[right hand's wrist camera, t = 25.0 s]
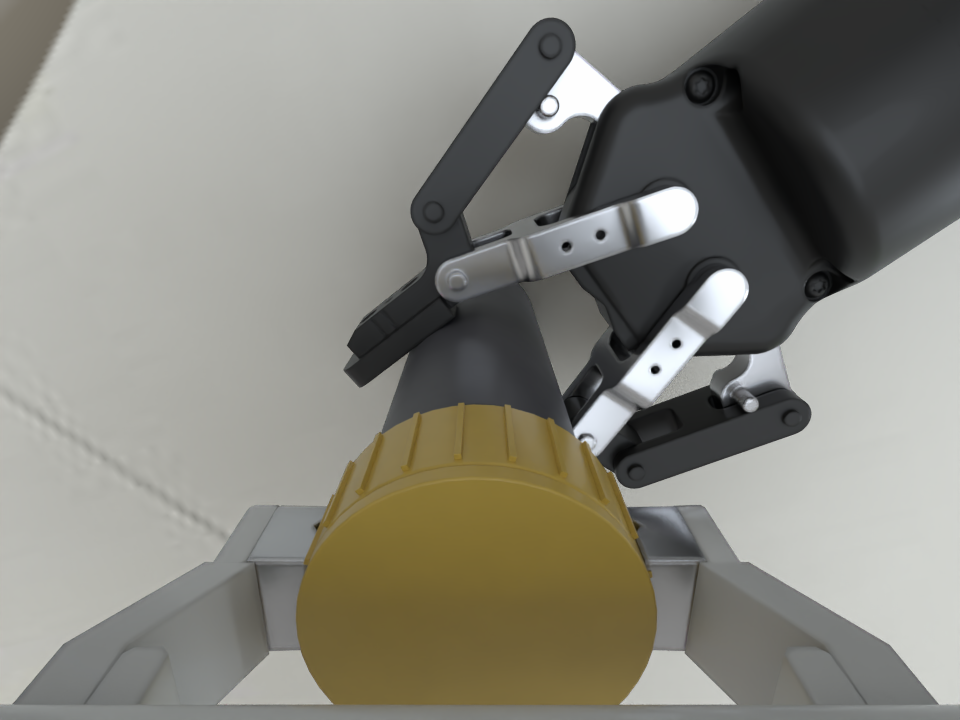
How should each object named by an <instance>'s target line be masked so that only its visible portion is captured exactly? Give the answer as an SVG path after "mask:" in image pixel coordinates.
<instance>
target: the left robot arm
mask: <svg viewBox="0 0 960 720" xmlns="http://www.w3.org/2000/svg"><path fill="white" fill-rule="evenodd" d="M575 47H576V44H575V37H574V34H573V32H572V30H571V28H570V27H569V26H568V25H567V24H566V23H565V22H564V21H562V20H560V19H557V18H546V19H543V20H540V21H539V22H537V23H536V24H535V25H534V26H533V27H532V28H531V29H530V31H529V32H528V34H527V35H526V36H525V38H524V39H523V41H522V42H521V44H520V45H519V47H518V48H517V50H516V51H515V52H514V54H513V55H512V57H511V58H510V60H509V61H508V63H507V64H506V66H505V67H504V68H503V70H502V71H501V73H500V74H499V76H498V77H497V79H496V80H495V81H494V83H493V84H492V86H491V87H490V89H489V90H488V92H487V93H486V95H485V96H484V97H483V99H482V100H481V102H480V103H479V105H478V106H477V108H476V109H475V111H474V112H473V113H472V115H471V116H470V118H469V119H468V121H467V122H466V124H465V125H464V126H463V128H462V129H461V131H460V132H459V134H458V135H457V137H456V138H455V140H454V141H453V142H452V144H451V145H450V147H449V148H448V150H447V151H446V153H445V154H444V156H443V157H442V158H441V160H440V161H439V163H438V164H437V166H436V167H435V169H434V170H433V172H432V173H431V174H430V176H429V177H428V179H427V180H426V182H425V183H424V185H423V186H422V187H421V189H420V190H419V192H418V193H417V195H416V196H415V198H414V199H413V201H412V204H411V218H412V221H413V223H414V224H415V226H416V227H417V228H418V230H419V232H420V235H421V238H422V241H423V244H424V247H425V249H426V253H427V266H426V268H425V269H424V270H423V271H422V272H420V273H419V274H418V275H417V276H415V277H414V278H413V279H411V280H410V281H409V282H408V283H406V284H405V285H404V286H403V287H401V288H400V289H399V290H398V291H396V292H395V293H394V294H393V295H391V296H390V297H389V298H388V299H386V300H385V301H384V302H382V303H381V304H380V305H379V306H378V307H376V308H375V309H374V310H372V311H371V312H370V313H369V314H367V315H366V316H365V317H364V318H363V319H362V321H361V322H360V324H359V325H358V327H357V328H356V330H355V331H354V333H353V335H352V337H351V339H350V341H349V342H348V344H347V346H348V347H349V348H350V350H351V351H352V352H353V353H354V354H353V355H352V357H351V358H350V360H349V362H348V363H347V365H346V366H345V368H344V371H345V372H346V374H347V375H348V376H349V377H350V378H351V379H352V380H353V381H354V382H355V383H356V384H357V386H358V387H359V388H360V387H363V386H364V385H366V384H367V383H369V382H370V381H371V380H373V379H374V378H375V377H377V376H378V375H379V374H381V373H382V372H383V371H385V370H386V369H387V368H389V367H390V366H391V365H393V364H394V363H395V362H396V361H398V360H399V359H400V358H402V357H403V356H404V355H406V354H407V353H408V352H410V351H411V350H412V349H414V348H415V347H416V346H418V345H419V344H420V343H422V342H423V341H424V340H425V339H426V338H427V337H429V336H430V335H432V334H433V333H435V332H436V331H437V330H439V329H440V328H441V327H443V326H444V325H445V324H447V323H448V322H449V321H451V320H452V319H453V318H455V314H456V308H457V304H458V303H459V302H463V301H467V300H470V299H473V298H476V297H478V296H481V295H484V294H487V293H490V292H493V291H496V290H499V289H502V288H505V287H508V286H511V285H514V284H517V283H520V282H533V281H538V280H542V279H545V278H548V277H551V276H554V275H556V274H559V273H562V272H565V271H568V270H569V271H570V272H571V273H572V275H573V276H574V277H575V279H576V280H577V281H578V283H579V284H580V286H581V287H582V288H583V289H584V290H585V291H587V292H588V293H589V294H591V295H592V296H593V297H594V298H595V300H596V303H597V305H598V308H599V311H600V313H601V315H602V316H603V317H604V319H605V320H606V321H607V323H608V324H609V327H608V329H607V330H606V331H605V333H604V334H603V335H602V336H601V338H600V339H599V340H598V342H597V343H596V344H595V346H594V348H593V350H592V352H591V357H590V359H589V361H588V363H587V364H586V366H585V367H584V368H583V370H582V371H581V372H580V374H579V375H578V376H577V377H576V379H575V380H574V381H573V383H572V384H571V385H570V386H569V388H568V389H567V390H566V392H565V393H564V394H563V395H562V398H563V401H564V404H565V407H566V410H567V413H568V416H569V419H570V422H571V425H572V428H573V431H574V434H575V437H576V438H577V439H578V440H580V441H581V442H582V443H583V442H584V441H586V442H587V443H588V444H589V446H590V448H591V451H592V453H593V454H594V455H595V456H596V457H597V459H598V460H599V462H600V463H601V464H602V466H603V467H605V468H607V469H609V470H610V471H612V472H614V473H615V474H616V477H617V479H618V481H619V482H620V483H621V484H622V485H623V486H625V487H628V488H634V489H635V488H641V487H644V486H647V485H650V484H653V483H655V482H658V481H661V480H664V479H667V478H670V477H673V476H676V475H678V474H681V473H684V472H687V471H690V470H693V469H696V468H699V467H701V466H704V465H707V464H710V463H713V462H716V461H719V460H722V459H725V458H727V457H730V456H733V455H736V454H739V453H742V452H745V451H748V450H750V449H753V448H756V447H759V446H762V445H765V444H768V443H771V442H773V441H776V440H779V439H782V438H785V437H788V436H791V435H794V434H796V433H798V432H800V431H802V430H803V429H804V428H805V427H806V426H807V425H808V423H809V421H810V419H811V409H810V407H809V405H808V404H807V403H806V402H805V401H803V400H802V399H801V398H800V397H798V396H797V395H796V393H795V392H793V391H792V390H791V388H790V384H789V380H788V376H787V372H786V368H785V364H784V360H783V356H782V352H781V348H780V345H781V344H782V343H783V342H784V341H785V340H786V339H787V338H788V337H789V336H790V335H791V333H792V332H793V330H794V329H795V327H796V325H797V324H798V322H799V321H800V319H801V318H802V317H803V315H804V314H805V313H806V312H807V311H808V310H809V309H810V308H811V307H812V306H813V305H814V304H815V303H817V302H818V301H820V300H821V299H823V298H825V297H827V296H830V295H832V294H834V293H836V292H839V291H841V290H843V289H846V288H848V287H850V286H853V285H855V284H857V283H859V282H862V281H863V280H865V279H867V278H869V277H870V276H872V275H873V274H875V273H876V272H878V271H879V270H881V269H883V268H884V267H886V266H887V265H889V264H890V263H892V262H893V261H895V260H896V259H898V258H899V257H901V256H902V255H904V254H906V253H907V252H909V251H910V250H912V249H913V248H915V247H916V246H918V245H919V244H921V243H922V242H924V241H925V240H927V239H929V238H930V237H932V236H933V235H935V234H936V233H938V232H939V231H941V230H942V229H944V228H945V227H947V226H948V225H950V224H951V223H953V222H955V221H956V220H958V219H959V218H960V0H763V1H762V2H761V3H759V4H758V5H757V6H756V7H754V8H753V9H752V10H751V11H749V12H748V13H747V14H746V15H744V16H743V17H742V18H741V19H739V20H738V21H737V22H735V23H734V24H733V25H732V26H730V27H729V28H728V29H727V30H725V31H724V32H723V33H722V34H720V35H719V36H718V37H717V38H715V39H714V40H713V41H712V42H710V43H709V44H708V45H707V46H705V47H704V48H703V49H701V50H700V51H699V52H698V53H696V54H695V55H694V56H693V57H691V58H690V59H689V60H688V61H686V62H685V63H684V64H683V65H681V66H680V67H679V68H678V69H676V70H675V71H674V72H672V73H671V74H669V75H668V76H666V77H665V78H663V79H661V80H660V81H657V82H654V83H649V84H643V85H636V86H632V87H629V88H627V89H625V90H623V91H620V90H619V89H618V88H617V87H616V86H615V85H614V84H612V83H611V82H610V81H609V80H608V79H607V78H606V77H605V76H603V75H602V74H601V73H600V72H599V71H598V70H597V69H596V68H594V67H593V66H592V65H591V64H590V63H589V62H588V61H586V60H585V59H584V58H583V57H582V56H581V55H580V54H579V53H577V52H576V51H575ZM574 117H579V118H584V119H586V120H588V121H589V122H590V123H591V124H590V127H589V130H588V133H587V136H586V139H585V142H584V145H583V148H582V151H581V154H580V157H579V160H578V163H577V166H576V169H575V172H574V175H573V178H572V181H571V185H570V188H569V191H568V194H567V197H566V200H565V203H564V204H563V205H561V206H558V207H555V208H552V209H549V210H546V211H544V212H541V213H538V214H535V215H532V216H529V217H527V218H524V219H521V220H518V221H516V222H514V223H511V224H510V225H508V226H506V227H504V228H502V229H499V230H496V231H493V232H491V233H488V234H485V235H482V236H479V237H476V238H474V239H471V237H470V233H469V230H468V227H467V224H466V221H465V218H464V215H463V211H464V209H465V208H466V207H467V205H468V204H469V202H470V201H471V200H472V198H473V197H474V196H475V194H476V193H477V191H478V190H479V189H480V187H481V186H482V184H483V183H484V182H485V180H486V179H487V178H488V176H489V175H490V173H491V172H492V171H493V169H494V168H495V166H496V165H497V164H498V162H499V161H500V160H501V158H502V157H503V155H504V154H505V153H506V151H507V150H508V148H509V147H510V146H511V144H512V143H513V142H514V140H515V139H516V137H517V136H518V135H519V133H520V132H521V130H522V129H523V128H524V126H525V127H526V128H528V129H529V130H530V131H532V132H534V133H537V134H547V133H550V132H554V131H556V130H557V129H559V128H560V127H561V126H562V125H563V124H564V123H565V122H566V121H568V120H569V119H571V118H574ZM720 355H736V356H735V358H734V360H733V361H732V362H731V363H730V364H729V365H728V366H727V367H725V368H723V369H719V370H717V371H715V372H714V374H713V378H712V379H711V382H710V385H708V386H705V387H703V388H700V389H697V390H695V391H692V392H689V393H686V394H684V395H681V396H678V397H675V398H673V399H670V400H667V401H664V402H662V403H659V404H656V405H654V406H651V405H652V404H653V403H654V402H655V401H656V400H657V398H658V397H659V396H660V395H661V394H662V392H663V391H664V390H665V389H666V388H667V386H668V385H669V384H670V383H671V382H672V380H673V379H674V378H675V377H676V376H677V374H678V373H679V372H680V371H681V370H682V369H683V367H684V366H685V365H686V364H687V363H688V361H689V360H690V359H691V358H692V357H693V356H720ZM650 406H651V407H650ZM638 410H640V411H638ZM636 411H637V412H636Z"/></svg>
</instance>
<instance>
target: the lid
mask: <svg viewBox="0 0 960 720" xmlns="http://www.w3.org/2000/svg"><path fill="white" fill-rule="evenodd" d="M637 538H639V536H638V534H637V531H636V529H635V527H634V524H633V522H632V519H631V517H630V514H629V512H628V509H627V507H626V505H625V502H624V500H623V497H622V495H621V492H620V490H619V487H618V485H617V483H616V480H615V478H614V475H613V473H612V472H611V471H610V472H608V473H607V472H606V470H605V469H604V467H603V466H602V464H601V463H600V462H599V460H598V459H597V457H596V456H595V455H594V454H593V453H592V451H591V448H590V446H589V444H588V443H587V442H586V441H584V442H583V443H582V442H581V441H580V440H578V439H577V438H576V437H574V436H573V435H572V434H571V433H569V432H568V431H566V430H565V429H563V428H561V427H559V426H558V425H556V424H555V423H554V420H553V419H551V418H548V419H547V420H546V419H544V418H541V417H539V416H537V415H534V414H531V413H528V412H524V411H521V410H517V409H514V408H511V405H506V404H505V405H504V407H502V406H495V405H474V404H473V405H465V404H464V403H458V406H451V407H446V408H441V409H437V410H432V411H429V412H426V413H423V414H420V412H417V413H415V414H414V415H413V417H412V418H410V419H408V420H406V421H404V422H402V423H400V424H398V425H396V426H394V427H393V428H391V429H390V430H388V431H387V432H385V433H384V434H381V432H379V433H378V434H376V435H375V438H374V441H373V442H372V443H371V444H370V445H369V446H368V447H367V448H366V449H365V450H364V451H363V452H362V453H361V454H360V456H359V457H358V458H357V459H356V460H355V461H354V462H352V461H350V462H349V463H348V464H347V467H346V469H345V471H344V474H343V476H342V478H341V481H340V483H339V486H338V488H337V490H336V493H335V495H332V497H331V499H330V501H329V504H328V506H327V508H326V511H325V513H324V515H323V518H322V520H321V522H320V525H319V527H318V529H317V532H316V534H315V536H314V539H313V541H312V543H311V546H310V548H309V550H308V553H307V555H306V557H305V560H304V563H303V564H304V565H308V566H307V568H306V571H305V573H304V575H303V578H302V581H301V585H300V589H299V592H298V596H297V605H296V628H297V637H298V641H299V645H300V649H301V653H302V656H303V658H304V660H305V663H306V665H307V667H308V670H309V672H310V673H311V675H312V677H313V678H314V680H315V681H316V683H317V685H318V686H319V688H320V689H321V690H322V691H323V692H324V694H325V695H326V696H327V697H328V698H329V700H330V701H331V702H332V703H333V704H334V705H619V704H620V703H621V702H622V701H623V700H624V699H625V698H626V697H627V696H628V694H629V693H630V692H631V690H632V689H633V688H634V686H635V685H636V684H637V682H638V681H639V679H640V677H641V675H642V674H643V672H644V670H645V668H646V666H647V664H648V661H649V658H650V656H651V653H652V650H653V646H654V641H655V636H656V631H657V605H656V599H655V592H654V589H653V586H652V583H651V580H650V578H652V572H651V571H649V572H648V571H647V568H646V566H645V563H644V561H643V559H642V556H641V553H640V551H639V548H638V546H637V543H636V541H635V539H637Z"/></svg>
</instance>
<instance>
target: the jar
mask: <svg viewBox="0 0 960 720" xmlns="http://www.w3.org/2000/svg"><path fill="white" fill-rule="evenodd" d="M458 403H464V404H465V405H473V404H474V405H495V406H502V407H504V405H505V404H506V405H511V408H514V409H517V410H521V411H524V412H528V413H531V414H534V415H537V416H539V417H541V418H544V419H546V420H547V419H548V418H551V419H553V420H554V423H555V424H556V425H558V426H559V427H561V428H563V429H565V430H566V431H568V432H569V433H571V434H572V435H573V436H574V437H575V434H574V431H573V428H572V425H571V422H570V419H569V416H568V413H567V410H566V407H565V404H564V401H563V398H562V395H561V392H560V389H559V386H558V383H557V380H556V377H555V374H554V371H553V368H552V365H551V362H550V359H549V356H548V353H547V350H546V347H545V344H544V341H543V338H542V335H541V332H540V329H539V326H538V323H537V320H536V317H535V314H534V311H533V308H532V305H531V302H530V300H529V298H528V296H527V294H526V293H525V291H524V290H523V289H522V287H521V286H520V285H519V284H518V283H517V284H514V285H511V286H508V287H505V288H502V289H499V290H496V291H493V292H490V293H487V294H484V295H481V296H478V297H476V298H473V299H470V300H467V301H463V302H459V303H458V304H457V308H456V314H455V318H453V319H452V320H451V321H449V322H448V323H447V324H445V325H444V326H443V327H441V328H440V329H439V330H437V331H436V332H435V333H433V334H432V335H430V336H429V337H427V338H426V339H425V340H424V341H423V342H422V343H420V344H419V345H418V346H416V347H415V348H414V349H412V350H411V351H410V352H409V355H408V358H407V361H406V364H405V366H404V369H403V372H402V375H401V378H400V381H399V384H398V387H397V389H396V392H395V395H394V398H393V401H392V404H391V407H390V409H389V412H388V415H387V418H386V421H385V424H384V427H383V430H382V432H381V434H384V433H385V432H387V431H388V430H390V429H391V428H393V427H394V426H396V425H398V424H400V423H402V422H404V421H406V420H408V419H410V418H412V417H413V415H414V414H415V413H417V412H420V414H423V413H426V412H429V411H432V410H437V409H441V408H446V407H451V406H458Z"/></svg>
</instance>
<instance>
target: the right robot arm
mask: <svg viewBox="0 0 960 720" xmlns="http://www.w3.org/2000/svg"><path fill="white" fill-rule="evenodd" d="M326 508H327V506H278V505H255V506H252V507H250V508H249V509H248V510H247V511H246V513H245V515H244V516H243V518H242V519H241V521H240V522H239V524H238V525H237V527H236V528H235V530H234V531H233V533H232V534H231V536H230V537H229V539H228V541H227V542H226V544H225V545H224V547H223V548H222V550H221V551H220V553H219V554H218V556H217V557H216V559H215V560H214V562H205V563H203V564H201V565H199V566H198V567H196V568H194V569H193V570H191V571H189V572H187V573H186V574H184V575H182V576H180V577H179V578H177V579H175V580H174V581H172V582H170V583H168V584H167V585H165V586H163V587H161V588H160V589H158V590H156V591H155V592H153V593H151V594H149V595H148V596H146V597H144V598H142V599H141V600H139V601H137V602H136V603H134V604H132V605H130V606H129V607H127V608H125V609H123V610H122V611H120V612H118V613H116V614H115V615H113V616H111V617H110V618H108V619H106V620H104V621H103V622H101V623H99V624H97V625H96V626H94V627H92V628H91V629H89V630H87V631H85V632H84V633H82V634H80V635H78V636H77V637H75V638H73V639H72V640H70V641H68V642H66V643H65V644H63V645H62V647H61V648H60V649H59V650H58V651H57V652H56V654H55V655H54V656H53V657H52V658H51V660H50V661H49V662H48V663H47V664H46V665H45V667H44V668H43V669H42V670H41V671H40V672H39V674H38V675H37V676H36V677H35V678H34V680H33V681H32V682H31V683H30V684H29V685H28V687H27V688H26V689H25V690H24V691H23V693H22V694H21V695H20V696H19V697H18V698H17V700H16V701H15V702H14V703H13V704H12V705H0V720H960V705H939V704H938V703H937V702H936V700H935V699H934V698H933V697H932V696H931V694H930V693H929V692H928V691H927V690H926V688H925V687H924V686H923V685H922V684H921V682H920V681H919V680H918V679H917V677H916V676H915V675H914V674H913V673H912V671H911V670H910V669H909V668H908V667H907V665H906V664H905V663H904V662H903V661H902V659H901V658H900V657H899V656H898V654H897V653H896V652H895V651H894V650H893V648H892V647H891V646H890V645H889V644H887V643H885V642H884V641H882V640H880V639H879V638H877V637H875V636H873V635H872V634H870V633H868V632H867V631H865V630H863V629H861V628H860V627H858V626H856V625H855V624H853V623H851V622H850V621H848V620H846V619H844V618H843V617H841V616H839V615H838V614H836V613H834V612H832V611H831V610H829V609H827V608H826V607H824V606H822V605H821V604H819V603H817V602H815V601H814V600H812V599H810V598H809V597H807V596H805V595H804V594H802V593H800V592H798V591H797V590H795V589H793V588H792V587H790V586H788V585H786V584H785V583H783V582H781V581H780V580H778V579H776V578H775V577H773V576H771V575H769V574H768V573H766V572H764V571H763V570H761V569H759V568H757V567H756V566H754V565H752V564H751V563H749V562H740V561H739V559H738V558H737V556H736V555H735V553H734V552H733V550H732V549H731V547H730V546H729V544H728V542H727V541H726V539H725V538H724V536H723V535H722V533H721V532H720V530H719V529H718V527H717V525H716V524H715V522H714V521H713V519H712V518H711V516H710V515H709V513H708V511H707V510H706V508H705V507H703V506H701V505H686V506H671V507H627V509H628V512H629V514H630V517H631V519H632V522H633V524H634V527H635V529H636V531H637V534H638V536H639V538H637V539H635V541H636V543H637V546H638V548H639V551H640V553H641V556H642V559H643V561H644V563H645V566H646V568H647V571H648V572H649V571H651V572H652V578H650V580H651V583H652V586H653V589H654V592H655V599H656V605H657V631H656V636H655V641H654V646H653V650H671V651H685V654H686V655H687V656H688V657H689V658H690V659H691V660H692V661H693V662H694V663H695V664H696V665H697V666H698V667H699V668H700V669H701V670H702V671H703V672H704V673H705V674H706V675H707V676H708V677H709V678H710V679H711V680H712V681H714V682H715V683H716V684H717V685H718V686H719V687H720V688H721V689H722V690H723V691H724V692H725V693H726V694H727V695H728V696H729V697H730V698H731V699H732V700H733V701H734V702H735V703H736V704H737V705H217V704H218V703H219V702H220V701H221V700H222V699H223V698H224V697H225V696H226V695H227V694H228V693H229V692H230V691H231V690H232V689H233V688H234V687H235V686H236V685H237V684H238V683H239V682H240V681H241V680H243V679H244V678H245V677H246V676H247V675H248V674H249V673H250V672H251V671H252V670H253V669H254V668H255V667H256V666H257V665H258V664H259V663H260V662H261V661H262V660H263V659H264V658H265V657H266V656H267V655H268V654H269V651H283V650H301V649H300V645H299V641H298V637H297V628H296V605H297V596H298V592H299V589H300V585H301V581H302V578H303V575H304V573H305V571H306V568H307V566H308V565H304V564H303V563H304V560H305V557H306V555H307V553H308V550H309V548H310V546H311V543H312V541H313V539H314V536H315V534H316V532H317V529H318V527H319V525H320V522H321V520H322V518H323V515H324V513H325V511H326Z"/></svg>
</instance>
